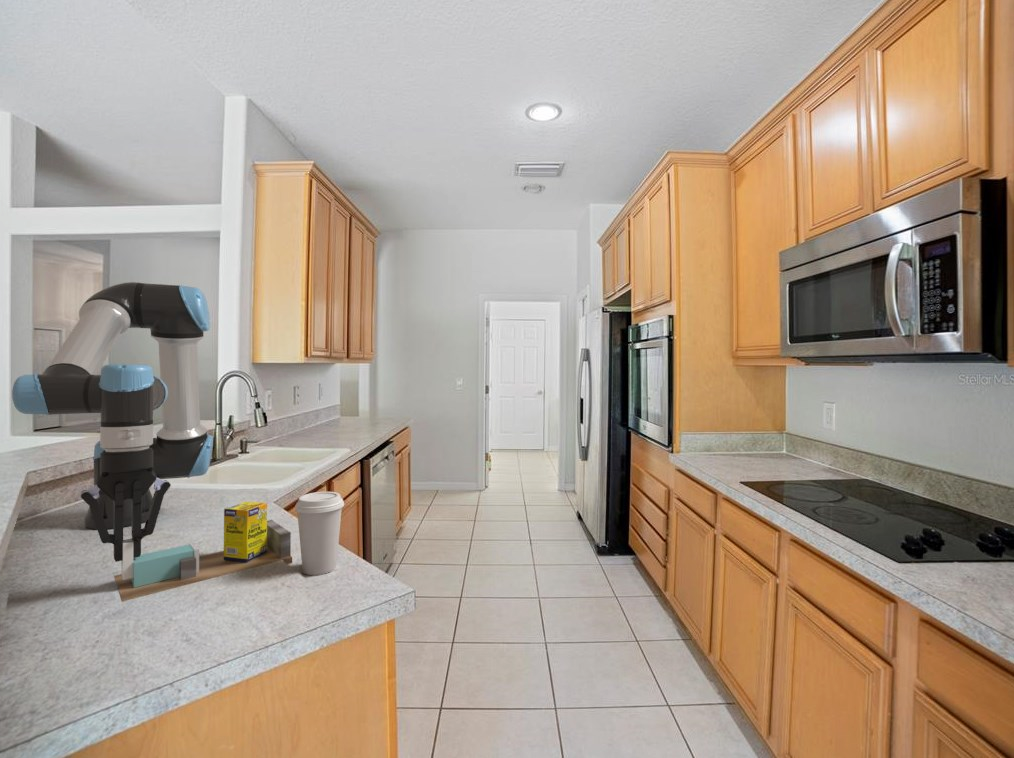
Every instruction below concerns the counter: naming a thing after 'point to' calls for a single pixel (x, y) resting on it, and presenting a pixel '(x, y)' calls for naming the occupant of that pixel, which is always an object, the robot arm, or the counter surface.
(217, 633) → the counter surface
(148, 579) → the teal rectangular block
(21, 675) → the counter surface
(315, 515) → the coffee cup
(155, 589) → the rail base
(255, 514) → the supplement box
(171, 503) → the counter surface
